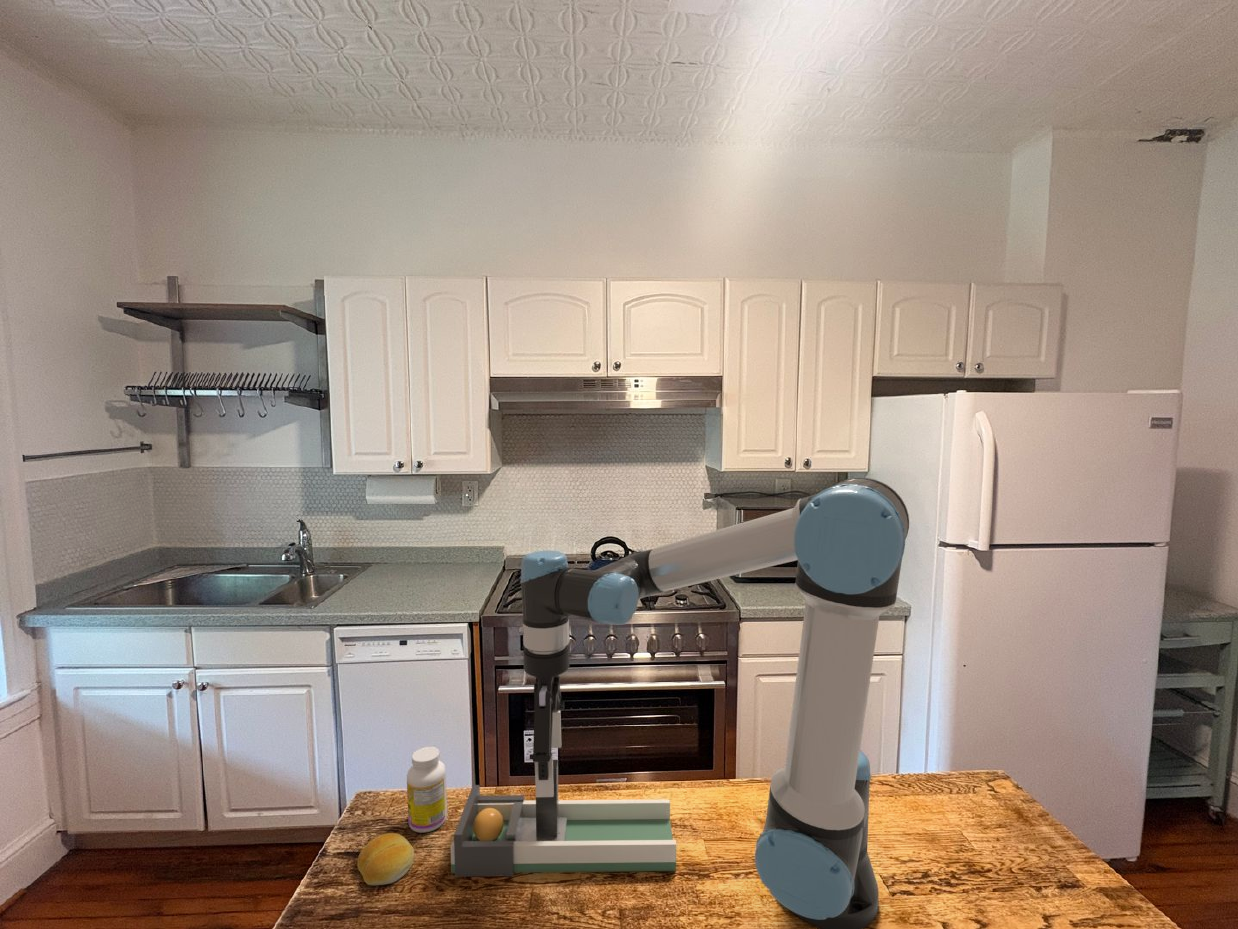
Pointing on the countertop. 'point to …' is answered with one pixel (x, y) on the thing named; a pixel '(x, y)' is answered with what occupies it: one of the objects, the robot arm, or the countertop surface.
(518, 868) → the board
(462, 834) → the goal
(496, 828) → the ball
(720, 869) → the countertop surface
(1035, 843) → the countertop surface
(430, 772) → the supplement bottle
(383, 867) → the bread roll
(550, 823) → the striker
